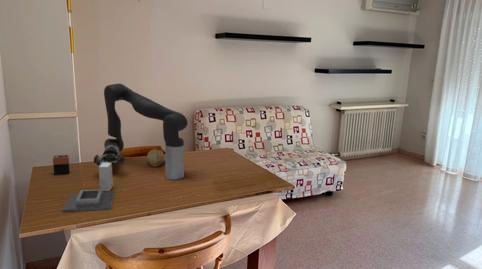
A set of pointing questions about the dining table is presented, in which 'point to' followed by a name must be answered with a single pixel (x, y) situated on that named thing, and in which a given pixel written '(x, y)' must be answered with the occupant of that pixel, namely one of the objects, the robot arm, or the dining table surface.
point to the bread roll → (155, 157)
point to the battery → (61, 164)
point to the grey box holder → (89, 201)
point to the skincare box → (105, 176)
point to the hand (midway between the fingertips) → (107, 163)
